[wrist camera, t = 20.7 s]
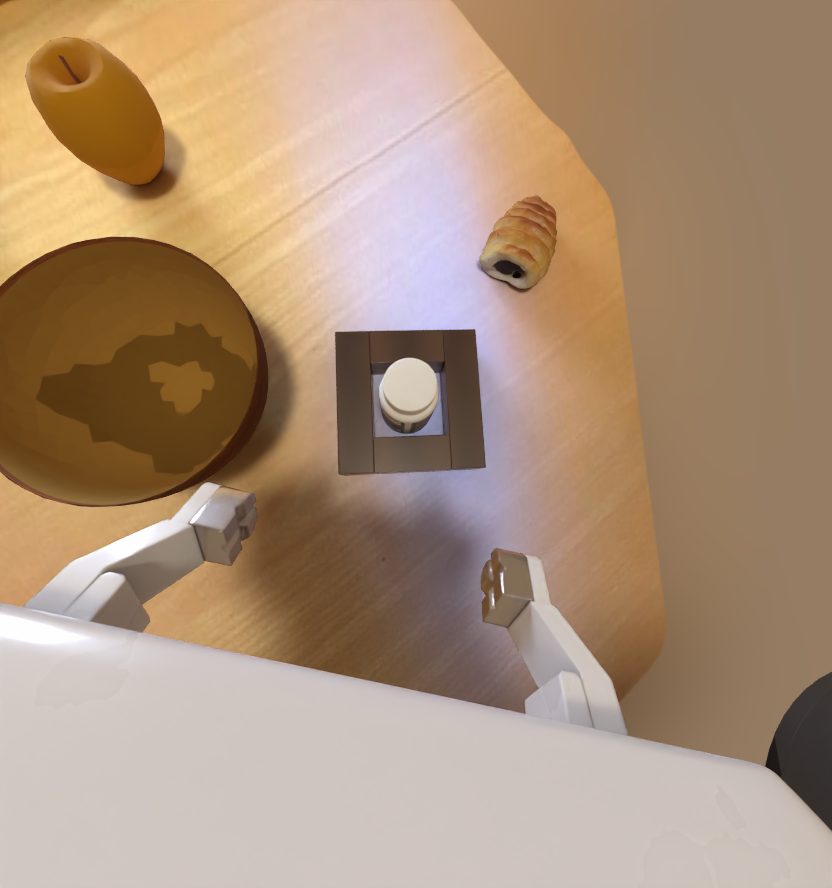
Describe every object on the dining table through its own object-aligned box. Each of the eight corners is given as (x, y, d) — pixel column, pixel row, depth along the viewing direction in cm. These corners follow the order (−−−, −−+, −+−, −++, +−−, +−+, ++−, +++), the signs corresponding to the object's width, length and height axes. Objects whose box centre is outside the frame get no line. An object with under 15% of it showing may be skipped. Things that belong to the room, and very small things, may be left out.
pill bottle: (429, 385, 33) (441, 351, 25) (432, 433, 32) (446, 414, 24) (379, 387, 32) (375, 353, 24) (382, 435, 32) (379, 417, 24)
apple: (189, 208, 33) (117, 109, 25) (97, 208, 33) (-10, 107, 24) (190, 132, 34) (121, 11, 26) (101, 131, 34) (-1, 6, 25)
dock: (468, 342, 34) (475, 329, 31) (477, 469, 32) (485, 467, 29) (340, 345, 33) (334, 331, 30) (343, 475, 31) (338, 474, 28)
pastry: (507, 199, 36) (521, 165, 32) (564, 226, 36) (584, 196, 32) (473, 271, 35) (483, 245, 31) (532, 300, 35) (549, 277, 31)
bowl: (57, 397, 30) (-106, 354, 20) (215, 277, 33) (138, 186, 23) (187, 542, 30) (84, 570, 20) (339, 408, 32) (315, 373, 22)
